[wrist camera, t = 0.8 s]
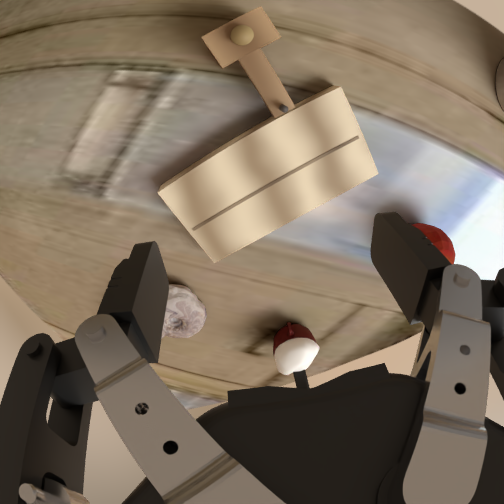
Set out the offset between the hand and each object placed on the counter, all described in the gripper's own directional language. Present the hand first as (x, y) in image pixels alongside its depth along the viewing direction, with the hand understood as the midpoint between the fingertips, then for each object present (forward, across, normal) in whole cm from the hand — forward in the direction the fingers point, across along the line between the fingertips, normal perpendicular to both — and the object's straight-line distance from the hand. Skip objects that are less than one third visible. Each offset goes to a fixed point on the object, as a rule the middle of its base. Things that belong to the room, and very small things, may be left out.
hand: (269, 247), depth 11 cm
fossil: (+21, +13, +21) cm, 32 cm away
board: (+21, -3, +5) cm, 21 cm away
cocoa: (+21, -4, +29) cm, 36 cm away
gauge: (+21, -2, -6) cm, 22 cm away
